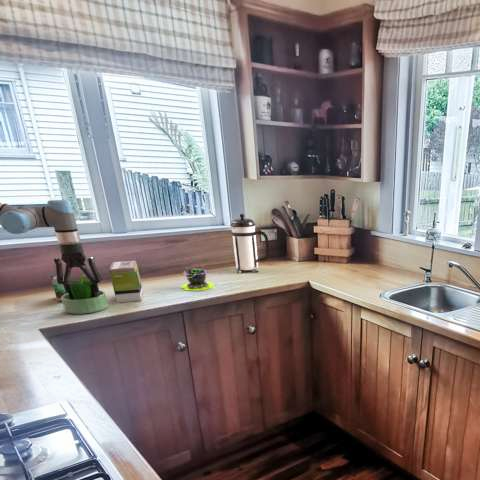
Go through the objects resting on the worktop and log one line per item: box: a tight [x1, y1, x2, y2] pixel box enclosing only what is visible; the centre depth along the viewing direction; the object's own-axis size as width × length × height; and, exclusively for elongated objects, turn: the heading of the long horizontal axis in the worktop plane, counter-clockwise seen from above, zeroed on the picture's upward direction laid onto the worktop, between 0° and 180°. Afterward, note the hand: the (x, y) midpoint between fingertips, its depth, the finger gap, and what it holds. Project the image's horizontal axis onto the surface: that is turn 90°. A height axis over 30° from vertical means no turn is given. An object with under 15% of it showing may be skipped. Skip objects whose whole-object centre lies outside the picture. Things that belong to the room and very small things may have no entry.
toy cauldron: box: [180, 262, 215, 292], centre depth 222 cm, size 15×15×11 cm
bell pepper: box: [69, 274, 93, 300], centre depth 187 cm, size 8×8×10 cm
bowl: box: [61, 289, 109, 315], centre depth 189 cm, size 15×15×6 cm
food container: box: [50, 273, 68, 303], centre depth 201 cm, size 12×6×10 cm, turn 34°
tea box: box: [108, 260, 144, 304], centre depth 203 cm, size 15×10×15 cm
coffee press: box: [227, 213, 270, 274], centre depth 251 cm, size 17×16×30 cm
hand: (84, 300), depth 189 cm, fingers closed on bell pepper, 8 cm apart
